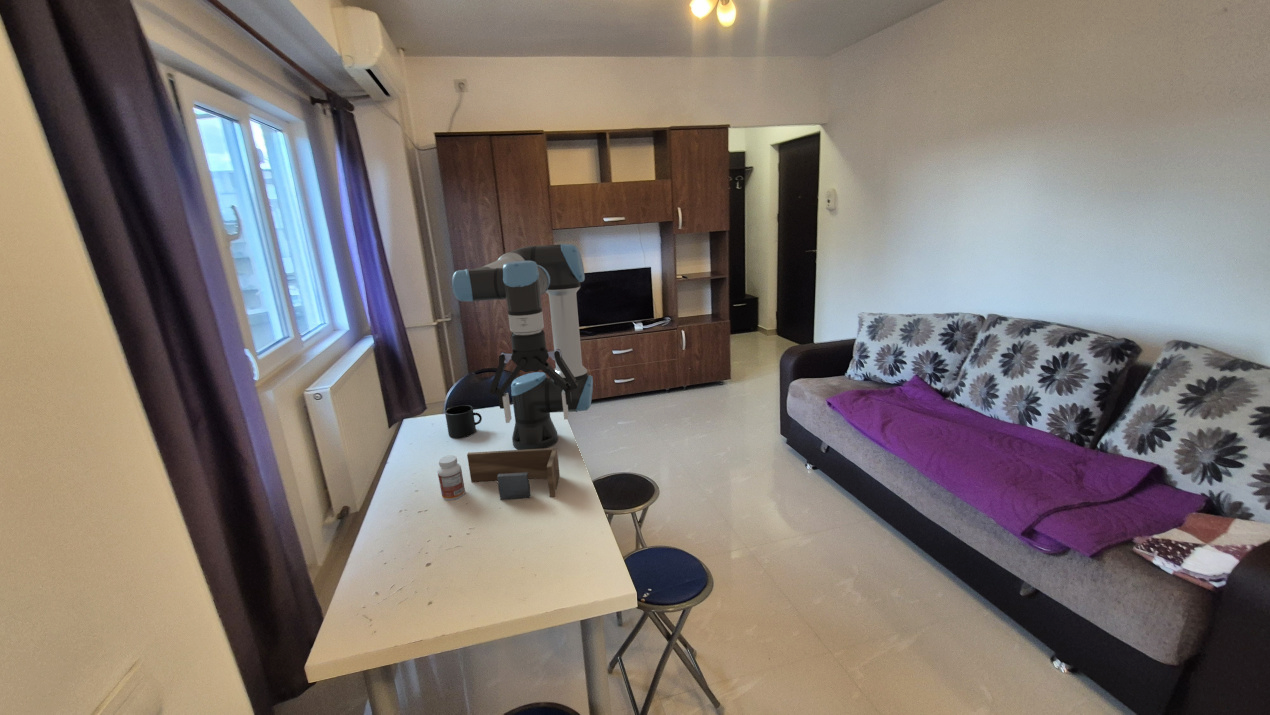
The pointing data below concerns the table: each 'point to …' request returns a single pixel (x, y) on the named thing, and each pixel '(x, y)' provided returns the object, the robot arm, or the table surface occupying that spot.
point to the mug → (461, 421)
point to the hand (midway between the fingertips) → (537, 419)
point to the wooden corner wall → (516, 465)
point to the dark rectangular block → (514, 486)
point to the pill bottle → (450, 478)
